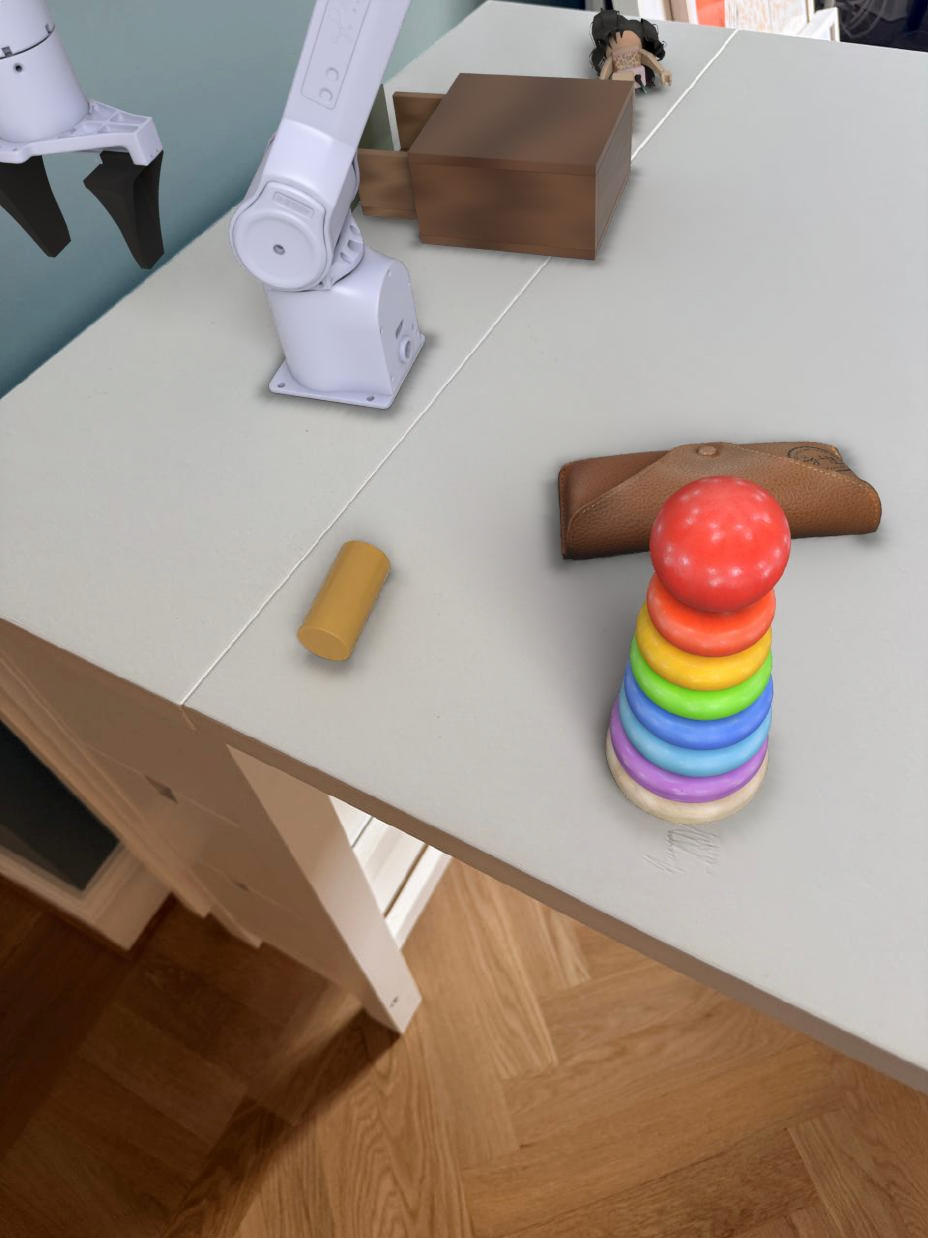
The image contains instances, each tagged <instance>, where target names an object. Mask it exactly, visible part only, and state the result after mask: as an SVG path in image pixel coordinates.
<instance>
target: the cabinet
mask: <svg viewBox="0 0 928 1238" xmlns="http://www.w3.org/2000/svg"><path fill="white" fill-rule="evenodd" d="M454 79H455V80H454V81H453V82H452V83H451V85H450V87H449V89H448V90H447V91H446V93H445V94H446V95H445V96H444V98H443V99H442V101H441V102H440V104H439V105H438V107H437V108H436V110H435V111H434V113H433V114H432V116H431V117H430V119H429V120H428V122H427V123H426V125H425V126H424V128H423V129H422V131H421V132H420V134H419V135H418V137H417V138H416V140H415V141H414V143H413V144H412V146H411V147H410V149H409V150H408V152H407V155H408V161H409V168H410V174H411V181H412V187H413V193H414V200H415V206H416V212H417V219H418V220H417V224H418V231H419V237H420V243H422V244H429V245H440V246H450V247H459V248H460V247H461V248H467V249H469V248H470V249H477V250H478V249H480V250H490V251H499V252H509V253H519V254H529V255H530V254H531V255H541V256H551V257H560V258H571V259H579V260H580V259H581V260H589V261H590V260H591V261H595V260H596V258H597V255H598V253H599V251H600V248H601V246H602V244H603V241H604V239H605V236H606V233H607V232H608V229H609V227H610V224H611V222H612V219H613V216H614V215H615V211H616V210H617V207H618V205H619V203H620V200H621V198H622V195H623V193H624V190H625V189H626V186H627V183H628V181H629V178H630V176H631V170H632V147H633V129H632V125H633V121H634V113H633V100H634V81H628V80H611V79H608V80H606V79H599V78H580V77H561V76H540V75H539V76H537V75H517V74H515V75H514V74H496V73H495V74H494V73H475V72H474V73H473V72H459V74H458V75H457V76H456V78H454ZM634 101H635V100H634ZM633 126H634V125H633Z"/></svg>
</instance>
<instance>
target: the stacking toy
mask: <svg viewBox="0 0 928 1238" xmlns="http://www.w3.org/2000/svg"><path fill="white" fill-rule="evenodd" d="M791 549H792V539H791V534H790V529H789V525H788V521H787V518H786V516H785V514H784V512H783V510H782V508H781V507H780V505H779V504H778V502H777V501H776V500H775V499H774V498H773V497H772V496H771V495H770V494H769V493H768V492H767V491H766V490H764V489H763V488H761V487H760V486H758V485H757V484H755V483H753V482H750V481H748V480H745V479H742V478H738V477H732V476H711V477H705V478H701V479H698V480H696V481H693V482H691V483H689V484H687V485H685V486H683V487H681V488H680V489H679V490H677V491H676V492H674V493H673V494H672V495H671V496H670V497H669V498H668V499H667V501H666V502H665V503H664V504H663V506H662V507H661V508H660V510H659V512H658V514H657V516H656V518H655V521H654V523H653V526H652V530H651V535H650V552H649V555H650V560H651V565H652V568H653V569H654V570H653V571H654V573H653V574H652V576H651V578H650V580H649V582H648V586H647V589H646V598H645V601H644V602H643V603H642V606H641V607H640V610H638V611H639V612H638V614H637V617H636V622H635V632H634V634H633V636H632V639H631V643H630V649H629V657H628V660H627V662H626V666H625V669H624V677H623V679H622V683H621V685H620V689H619V692H618V695H617V697H616V699H615V701H614V703H613V707H612V710H611V712H610V717H609V725H608V728H607V731H606V736H605V737H606V738H605V753H606V754H605V755H606V759H607V760H606V761H607V764H608V767H609V770H610V773H611V775H612V777H613V779H614V781H615V783H616V784H617V786H618V788H619V789H620V790H621V792H622V794H624V795H625V797H626V798H627V799H628V800H629V801H631V803H633V804H634V805H635V806H636V807H638V808H639V809H640V810H642V811H643V812H644V813H647V814H648V815H651V816H653V817H655V818H658V819H660V820H663V821H666V822H670V823H675V824H682V825H704V824H710V823H715V822H719V821H721V820H725V819H726V818H728V817H731V816H733V815H734V814H736V813H738V812H739V811H740V810H741V809H743V808H744V807H746V805H748V804H749V803H750V802H751V801H752V799H754V798H755V796H756V795H757V793H759V791H760V789H761V788H762V786H763V784H764V781H765V779H766V777H767V772H768V769H769V762H770V748H769V734H770V733H769V732H770V729H771V725H772V720H773V705H772V704H773V699H774V679H773V675H772V670H773V653H772V648H771V647H772V642H773V631H772V630H773V629H772V623H773V621H774V618H775V614H776V610H777V609H776V608H777V598H776V591H775V589H774V588H775V587H776V585H777V584H778V583H779V581H780V580H781V579H782V577H783V575H784V572H785V570H786V568H787V567H788V563H789V560H790V555H791Z"/></svg>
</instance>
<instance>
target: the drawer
mask: <svg viewBox="0 0 928 1238" xmlns="http://www.w3.org/2000/svg"><path fill="white" fill-rule="evenodd" d="M445 95H446V93H436V92H420V91H419V92H418V91H417V92H416V91H415V92H414V91H401V90H400V91H398V90H396V91H394V92H393V94H392V96H391V97H392V104H393V108H394V116H395V122H396V127H397V128H396V129H397V136H398V141H399V150H395V147H394V141H393V135H392V134H393V133H392V130H391V124H390V116H389V112H388V105H387V99H386V93H385V86H384V83H381V85H380V87H379V90H378V93H377V96H376V98H375V101H374V104H373V106H372V109H371V112H370V115H369V117H368V120H367V123H366V125H365V128H364V131H363V134H362V136H361V139H360V142H359V145H358V151H357V161H358V167H359V173H360V182H359V187H358V191H357V193H356V196H355V198H354V200H353V201H352V202H351V204H350V209H351V213H352V214H353V212H354V210H355V209H356V208H357V206H358V205H359V203H360V206H361V209H362V210H361V211H362V215H363V216H370V217H382V218H392V219H402V220H413V221H418V219H417V212H416V206H415V200H414V193H413V187H412V181H411V174H410V168H409V161H408V155H407V152H408V150H409V149H410V147H411V146H412V144H413V143H414V141H415V140H416V138H417V137H418V135H419V134H420V132H421V131H422V129H423V128H424V126H425V125H426V123H427V122H428V120H429V119H430V117H431V116H432V114H433V113H434V111H435V110H436V108H437V107H438V105H439V104H440V102H441V101H442V99H443V98H444V96H445Z"/></svg>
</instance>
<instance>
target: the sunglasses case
mask: <svg viewBox="0 0 928 1238" xmlns="http://www.w3.org/2000/svg"><path fill="white" fill-rule="evenodd" d="M711 476H732V477H738V478H742V479H745V480H748V481H750V482H753V483H755V484H757V485H758V486H760V487H761V488H763V489H764V490H766V491H767V492H768V493H769V494H770V495H771V496H772V497H773V498H774V499H775V500H776V501H777V502H778V504H779V505H780V507H781V508H782V510H783V512H784V514H785V516H786V518H787V521H788V525H789V529H790V534H791V540H798V539H799V540H800V539H811V538H830V537H831V538H832V537H843V536H859V535H860V536H861V535H867V534H873V533H876V532H877V531H878V529H879V527H880V524H881V521H882V519H881V518H882V515H883V507H882V503H881V502H882V501H881V498H880V495H879V493H878V491H877V490H876V489H875V487H874V486H873V485H871V483H869V482H868V481H866V480H864V479H862V478H860V477H859V476H858V475H857V474H856V473H855V472H854V471H853V470H852V469H851V468H850V467H849V466H848V465H847V464H846V463H845V462H844V459H843V457H842V455H841V453H840V451H839V449H838V448H837V447H836V446H834V445H833V444H827V443H823V442H817V441H773V442H772V441H771V442H753V443H740V444H738V443H732V442H727V441H711V442H709V441H708V442H700V443H699V442H697V443H687V444H686V443H685V444H682V445H678V446H675V447H673V448H672V449H670V450H669V449H666V450H654V451H653V450H652V451H651V450H650V451H643V452H641V451H640V452H631V453H619V454H612V455H604V456H598V457H588V458H583V459H577V460H573V461H570V462H567V463H564V464H563V465H562V466H561V468H560V469H559V472H558V477H557V484H558V485H557V487H558V505H559V524H560V525H559V527H560V549H561V556H562V558H563V560H571V561H586V560H587V561H588V560H593V559H604V558H612V557H617V556H625V555H634V554H640V553H641V554H642V553H650V535H651V530H652V526H653V523H654V521H655V518H656V516H657V514H658V512H659V510H660V508H661V507H662V506H663V504H664V503H665V502H666V501H667V499H668V498H669V497H670V496H671V495H672V494H673V493H674V492H676V491H677V490H679V489H680V488H681V487H683V486H685V485H687V484H689V483H691V482H693V481H696V480H698V479H701V478H705V477H711Z"/></svg>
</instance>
